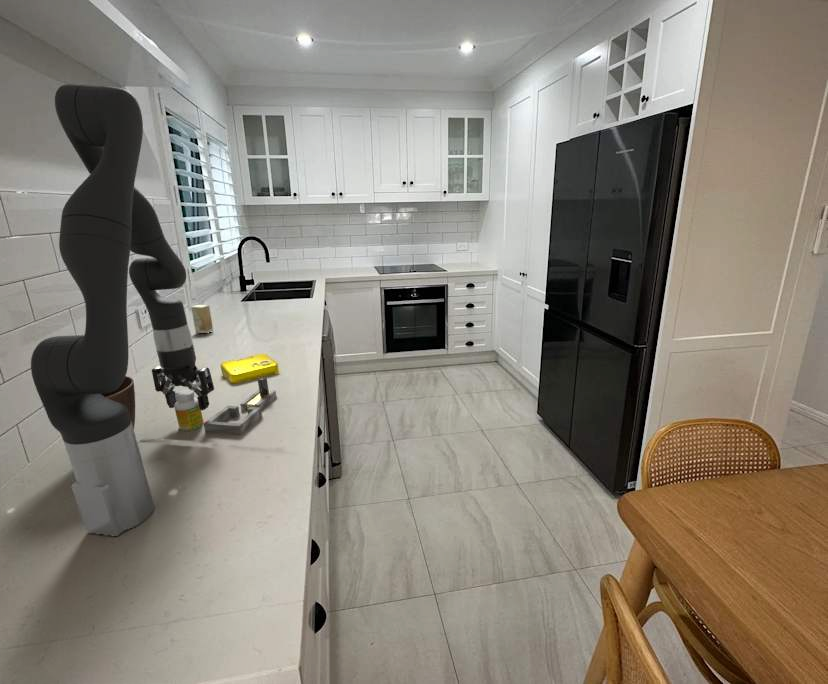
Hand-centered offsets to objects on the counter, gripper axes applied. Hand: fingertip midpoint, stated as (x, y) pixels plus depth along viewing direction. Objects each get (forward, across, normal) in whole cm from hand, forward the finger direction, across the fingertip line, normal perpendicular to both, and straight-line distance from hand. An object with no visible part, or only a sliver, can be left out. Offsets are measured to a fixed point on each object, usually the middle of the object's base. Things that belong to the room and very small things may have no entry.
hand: (189, 407), depth 103 cm
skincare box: (+7, -55, +78) cm, 96 cm away
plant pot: (+6, -10, -13) cm, 18 cm away
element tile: (+7, -6, +35) cm, 36 cm away
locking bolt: (+5, +10, +13) cm, 17 cm away
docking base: (+6, +10, +8) cm, 14 cm away
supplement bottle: (+6, 0, 0) cm, 6 cm away
